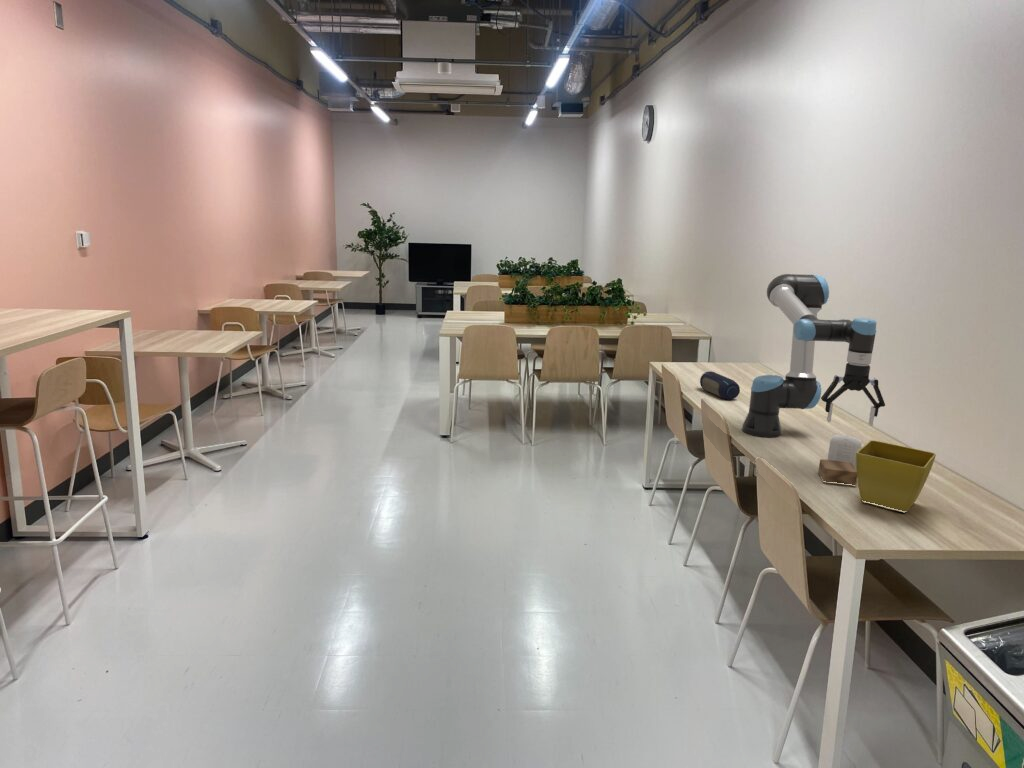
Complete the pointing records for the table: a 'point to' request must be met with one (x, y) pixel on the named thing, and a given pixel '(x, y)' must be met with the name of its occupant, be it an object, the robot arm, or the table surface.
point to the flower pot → (892, 473)
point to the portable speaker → (719, 385)
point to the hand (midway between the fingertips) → (849, 423)
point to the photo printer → (844, 449)
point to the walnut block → (837, 471)
